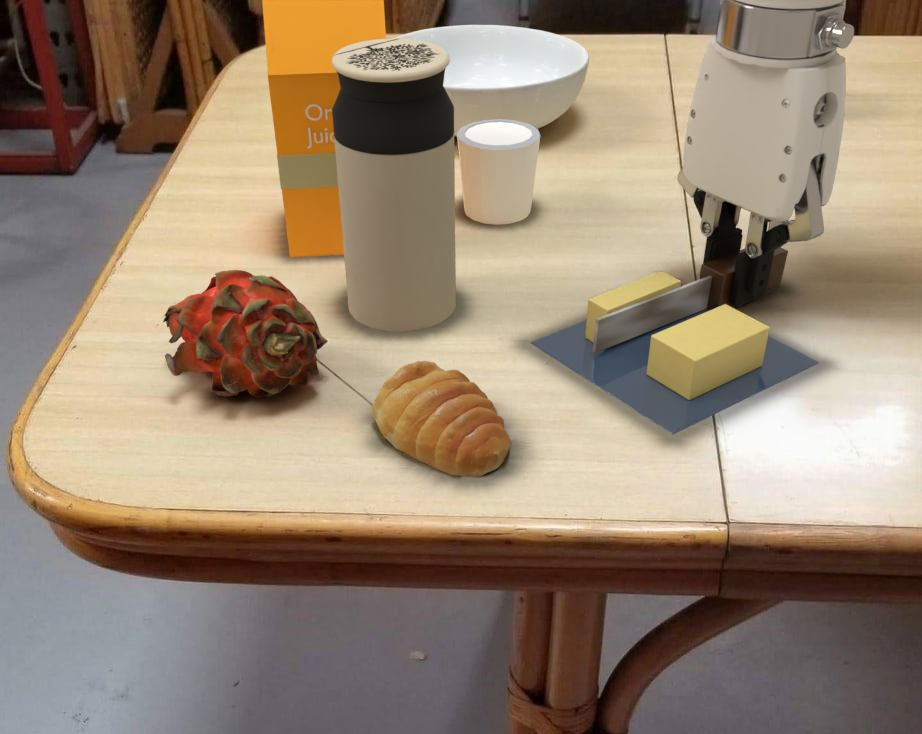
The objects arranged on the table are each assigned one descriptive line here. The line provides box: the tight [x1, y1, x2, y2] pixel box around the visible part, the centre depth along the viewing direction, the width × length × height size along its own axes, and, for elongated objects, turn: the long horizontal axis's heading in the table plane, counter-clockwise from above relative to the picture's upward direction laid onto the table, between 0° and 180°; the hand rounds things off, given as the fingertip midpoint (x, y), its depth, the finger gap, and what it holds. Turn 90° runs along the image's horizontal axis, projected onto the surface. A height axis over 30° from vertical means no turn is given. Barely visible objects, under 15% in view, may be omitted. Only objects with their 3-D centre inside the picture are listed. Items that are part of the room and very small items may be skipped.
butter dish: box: [529, 308, 820, 436], centre depth 74 cm, size 14×14×1 cm
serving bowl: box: [393, 24, 590, 137], centre depth 106 cm, size 21×21×7 cm
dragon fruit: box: [156, 269, 328, 398], centre depth 70 cm, size 8×8×12 cm
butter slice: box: [585, 270, 682, 342], centre depth 75 cm, size 7×2×3 cm, turn 127°
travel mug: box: [332, 38, 457, 332], centre depth 74 cm, size 8×8×18 cm
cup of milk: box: [456, 119, 541, 226], centre depth 90 cm, size 7×7×7 cm
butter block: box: [647, 304, 771, 400], centre depth 71 cm, size 7×4×3 cm, turn 127°
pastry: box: [371, 360, 512, 478], centre depth 66 cm, size 9×7×4 cm
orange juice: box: [261, 0, 387, 258], centre depth 82 cm, size 8×9×20 cm
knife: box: [593, 247, 789, 353], centre depth 76 cm, size 18×2×3 cm, turn 127°
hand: (731, 290), depth 79 cm, fingers closed on knife, 2 cm apart
